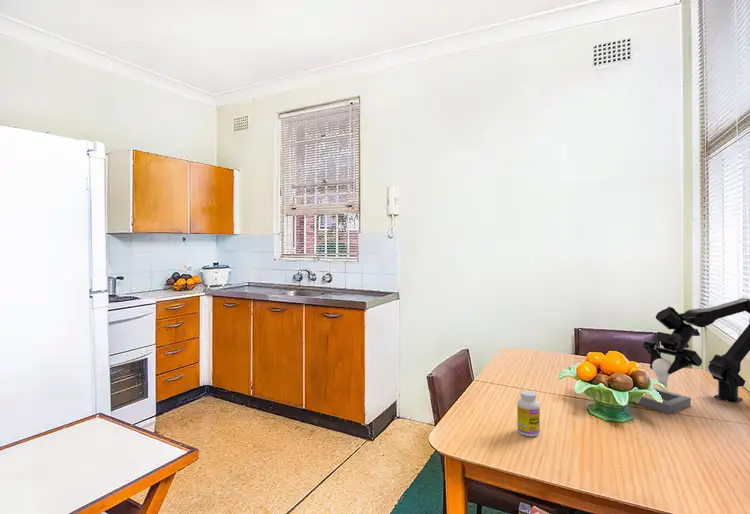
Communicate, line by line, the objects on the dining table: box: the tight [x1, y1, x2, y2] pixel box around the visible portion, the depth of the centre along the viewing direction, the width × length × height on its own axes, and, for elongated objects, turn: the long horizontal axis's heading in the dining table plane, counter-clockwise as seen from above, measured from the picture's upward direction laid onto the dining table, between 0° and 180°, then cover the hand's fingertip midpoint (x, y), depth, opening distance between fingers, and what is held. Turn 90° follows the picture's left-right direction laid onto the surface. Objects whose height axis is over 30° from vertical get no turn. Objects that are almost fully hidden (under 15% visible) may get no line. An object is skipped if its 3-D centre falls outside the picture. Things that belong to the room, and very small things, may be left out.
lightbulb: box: [651, 357, 672, 389], centre depth 151 cm, size 6×6×11 cm
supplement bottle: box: [516, 389, 541, 438], centre depth 131 cm, size 7×7×13 cm
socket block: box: [637, 387, 692, 415], centre depth 151 cm, size 14×13×3 cm
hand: (659, 371), depth 151 cm, fingers closed on lightbulb, 6 cm apart
